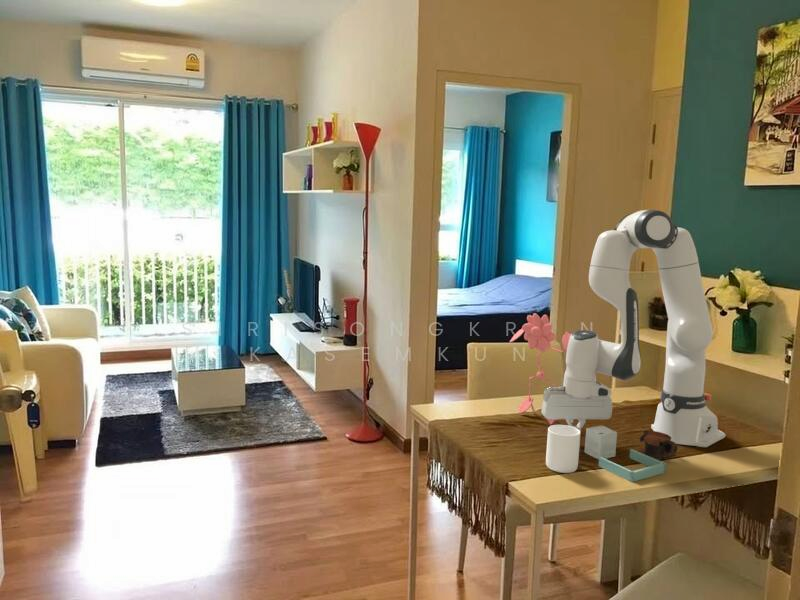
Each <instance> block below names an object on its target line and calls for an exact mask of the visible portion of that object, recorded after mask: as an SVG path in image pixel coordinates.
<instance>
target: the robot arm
mask: <svg viewBox="0 0 800 600" xmlns="http://www.w3.org/2000/svg"><path fill="white" fill-rule="evenodd" d="M644 249H645V250H646V249H651V250H652V251H653V252H654V255H655V257H656V261H657V263H656V264H657V268H658V274H659V280H660V286H661V291H662V296H663V300H664V305H665V310H666V315H667V319H668V320H667V327H666V328H667V329H666V348H665V369H664V377H663V378H664V379H663V386H662V387H663V388H662V389H661V392H660V403H658V405H657V409H656V413H655V419H654V423H652V424H650V425H651V426H650V428H651V429H652V431H656V432H661V433H664V434H667V435H669V436H670V437H671V441H673V442H675V443H676V445H683V446H684V445H685V446H696V447H700V448H708V447H709V446H712V445H714V444H715V443H717V442H718V441H720V440H723V439H725V438H726V432H723V431H721V430H720V429H718V425H719V424H718V423H719V422H718V421H719V420H718V419H719V418H718V417H717V415H716V414H715V413H713V411H711V410H710V409H709V408H708V407H707V403H706V401H708V402H710V401H711V400H712V394H710V393H706V392H704V387H705V377H706V370H707V369H706V349H707V348H708V347H709V346H710V344H711V342H712V340H713V337H714V330H713V325H712V321H711V316H710V311H709V306H708V303H707V298H706V295H705V290H704V285H703V279H702V274H701V269H700V263H699V257H698V253H697V249H696V245H695V243H694V240H693V238H692V234H691V233H690V232H689V231H688V230H687V229H686V228H683V227H678V226H677V225H676V224H675V223H674V221H673V219H672V218H671V217H670V215H668V214H667V213H666V212H665V211H663V210H659V209H644V210H643V209H642V210H638V211H636V212H632V213H629V214H627V215H625V216H624V217H623V218H621V219H620V220H619V221H618V223H617V224H616V226H615V227H614V229H610V230H606V231H604V232H601V233H600V234H599V235H598V237H597V240H596V242H595V246H594V247H593V250H592V251H593V252H592V256H591V260H590V264H589V271H588V284H589V286H590V288H591V290H592V291H593V293H594V294H596V295H597V296H598V297H599V298H601V299H602V300H604V301H606V302H608V303H609V304H611V305H612V306H613V307H615V309H616V310H617V311H618V312H619V314H620V343H617V342H612V341H606V340H604V339H603V340H602V339H599V336H598V334H597V333H596V332H595V331H592V330H586V329H585V330H584V329H582V330H576V331H574V332H572V333H570V334H571V336H570V339H569V342H568V347H567V351H566V355H565V366H566V368H565V372H564V376H563V382H562V383H563V386H549V387H547V388H546V389H544V391H543V396H542V397H543V401H542V404H541V405H542V407H541V415H542V416H543V417H544V418H545V419H546V420H547V419H557V420H565V421H566V423H567V426H572V427H575V428H577V429H579V430H580V432H582V428H583V427H584V425H585V424H586V420H610V418H611V417H612V415H613V400H612V398H611V395H612V389H611V388H609V387H608V386H606V385H605V384H603V383H602V382H598V381H597V375H596V373H597V374H601V375H606V376H610V377H613V378H615V379H618V380H621V381H628V380H630V379H632V378H634V377H635V376H636V375H638V374H639V372H640V370H641V365H642V355H641V349H640V328H639V327H640V321H639V318H640V316H639V313H640V312H639V299H638V293H637V291H636V290H635V289H633V288H632V285H631V282H630V276H629V275H630V267H631V260H632V257H633V254H634V253H635V252H636V251H637V250H644ZM574 420H578V422H577V424H576V425H573V423H574Z"/></svg>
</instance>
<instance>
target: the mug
mask: <svg viewBox="0 0 800 600" xmlns="http://www.w3.org/2000/svg"><path fill="white" fill-rule="evenodd" d="M547 430H548V431H547V439H546V453H545V465H546V467H547V468H548V470H551V471H552V472H557V473H560V474H571V473H574V472H576V470H577V469H578V468H579V456H580V443H581V432H582V431H581V432H580V430H579V429H577V428H575V427H572V426H569V425H568V424H566V425H565V424H553V425H552V424H551V425H550V426H549V427H547Z"/></svg>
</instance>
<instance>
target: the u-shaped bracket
mask: <svg viewBox="0 0 800 600" xmlns="http://www.w3.org/2000/svg"><path fill="white" fill-rule="evenodd" d="M629 459H631V460H632V461H633V460H634V461H636V462H638V463H640V464H642V465H645V466H646V467H643V468H640V469H636V470H632V469H628V468H626V467H624V466H622V465H620V464H617V463H615V462H613V461H611V460H608V458H606V459H605V458H602V457H599V460H598V467H599V468H602V469H604V470H607V471H609V472H611V473H612V474H614V475H617V476H619V477H621V478H623V479H625V480H626V481H630V482H631V483H634V482H637V481H640V480H643V479H644V480H645V479H647V478H650V477H654V476H657V475H661V474H665V473H666V470H667V463H665V462H664V461H661V460H660V461H659V460H656V459H654V458H652V457H649V456H647V455H644V454H642V453H640V451H637V450H635V449H634V448H633V449H629Z"/></svg>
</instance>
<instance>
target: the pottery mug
mask: <svg viewBox="0 0 800 600" xmlns="http://www.w3.org/2000/svg"><path fill="white" fill-rule="evenodd" d="M639 442H644V448H645V449H639V452H640V453H642V454H644V455H647V456H649V457H652V458H654V459H656V460H659V461H661V460H662V458H663V459H664V460H669V459H670V458H672V457H673V456H674V455H675V454H676V453H677V452H678V444H676V443H675V442H673V441H671V437H670V436H669V435H667V434H664V433H661V432H656V431H653V430H643V434H642V435H641V436H640V437H639Z"/></svg>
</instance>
